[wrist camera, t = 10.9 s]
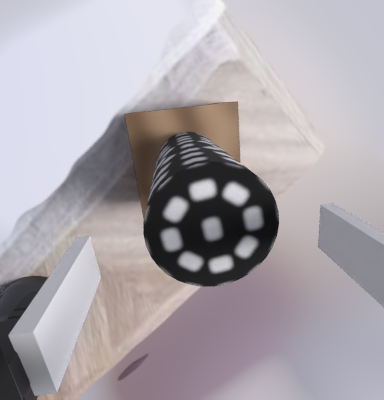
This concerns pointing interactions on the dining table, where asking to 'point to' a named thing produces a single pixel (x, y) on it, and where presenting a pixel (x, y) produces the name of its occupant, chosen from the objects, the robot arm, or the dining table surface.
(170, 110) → the wooden bridge block
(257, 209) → the spotted tube
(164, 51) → the dining table surface
